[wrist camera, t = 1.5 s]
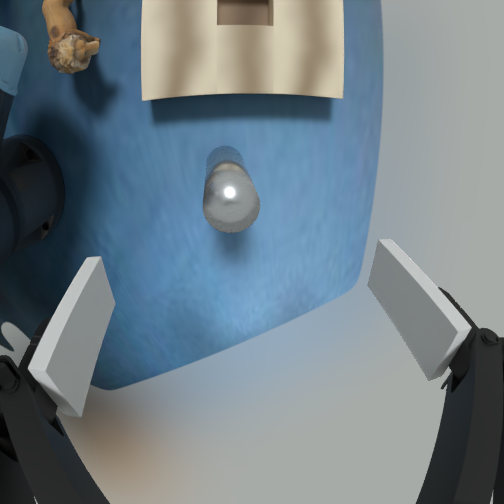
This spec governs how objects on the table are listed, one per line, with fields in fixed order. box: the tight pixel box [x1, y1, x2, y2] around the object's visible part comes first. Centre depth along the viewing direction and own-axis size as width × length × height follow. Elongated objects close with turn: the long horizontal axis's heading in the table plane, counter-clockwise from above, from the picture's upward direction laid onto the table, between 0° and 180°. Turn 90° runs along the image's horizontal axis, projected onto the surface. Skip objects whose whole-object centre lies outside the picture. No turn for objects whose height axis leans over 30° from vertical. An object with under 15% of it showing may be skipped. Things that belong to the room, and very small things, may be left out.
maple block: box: [141, 0, 344, 101], centre depth 22 cm, size 20×20×4 cm
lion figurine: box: [42, 0, 100, 74], centre depth 18 cm, size 15×5×9 cm, turn 27°
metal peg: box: [203, 146, 260, 233], centre depth 26 cm, size 4×4×14 cm
